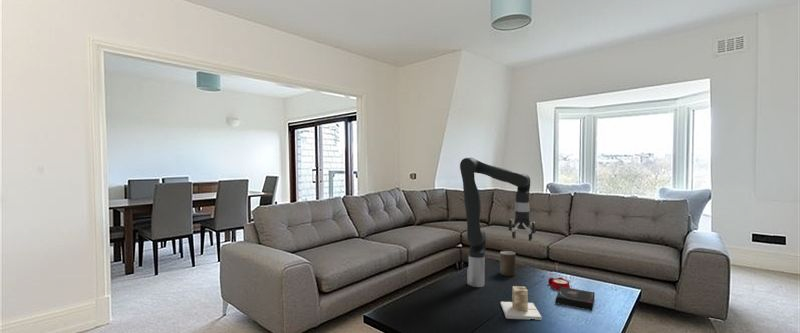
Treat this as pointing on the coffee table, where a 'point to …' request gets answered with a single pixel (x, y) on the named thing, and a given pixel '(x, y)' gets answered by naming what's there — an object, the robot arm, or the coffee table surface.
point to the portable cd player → (575, 298)
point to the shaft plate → (520, 312)
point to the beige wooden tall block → (520, 298)
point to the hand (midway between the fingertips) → (522, 239)
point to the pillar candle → (508, 263)
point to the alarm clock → (558, 283)
